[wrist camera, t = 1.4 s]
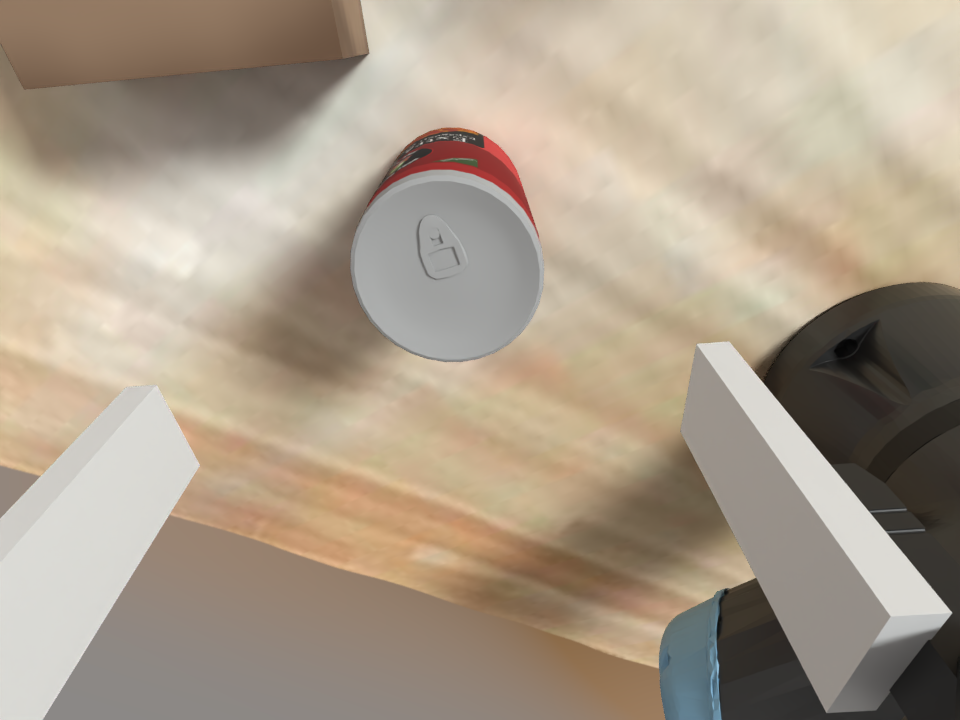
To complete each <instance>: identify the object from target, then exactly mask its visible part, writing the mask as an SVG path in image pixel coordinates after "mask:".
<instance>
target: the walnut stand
mask: <svg viewBox="0 0 960 720" xmlns="http://www.w3.org/2000/svg"><path fill="white" fill-rule="evenodd" d="M0 43H1V45H2V47H3V49H4V51H5V53H6V55H7V57H8V59H9V61H10V63H11V65H12V67H13V69H14V71H15V73H16V75H17V77H18V78H19V80H20V82H21V84H22V86H23V88H24V89H35V88H45V87H56V86H66V85H77V84H87V83H97V82H108V81H118V80H129V79H139V78H149V77H160V76H170V75H181V74H191V73H202V72H212V71H222V70H233V69H243V68H254V67H264V66H275V65H285V64H295V63H306V62H316V61H327V60H337V59H345V58H350V57H354V56H359V55H364V54H368V53H369V49H368V43H367V37H366V32H365V26H364V20H363V14H362V8H361V2H360V0H0Z"/></svg>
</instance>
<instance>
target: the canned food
mask: <svg viewBox="0 0 960 720" xmlns="http://www.w3.org/2000/svg"><path fill="white" fill-rule="evenodd" d="M350 270H351V276H352V282H353V287H354V290H355V293H356V295H357V298H358V301H359V303H360V306H361V307H362V309H363V310H364V312H365V314H366V315H367V317H368V318H369V320H370V321H371V322H372V324H373V325H374V326H375V327H376V328H377V329H378V330H379V331H380V332H381V334H383V335H384V336H385V337H386V338H388V339H389V340H390V341H391V342H393V343H394V344H395V345H397V346H399V347H401V348H402V349H404V350H406V351H408V352H410V353H412V354H415V355H418V356H420V357H423V358H426V359H431V360H437V361H443V362H463V361H469V360H475V359H479V358H482V357H485V356H487V355H490V354H493V353H495V352H497V351H498V350H500V349H502V348H503V347H505V346H507V345H508V344H510V343H511V342H512V341H513V340H514V339H515V338H516V337H517V336H519V335H520V334H521V333H522V331H523V330H524V329H525V327H526V326H527V325H528V324H529V322H530V321H531V319H532V317H533V315H534V313H535V311H536V309H537V307H538V305H539V302H540V298H541V294H542V290H543V281H544V260H543V254H542V247H541V243H540V240H539V235H538V232H537V229H536V226H535V223H534V220H533V217H532V214H531V211H530V208H529V205H528V202H527V199H526V196H525V193H524V190H523V187H522V184H521V181H520V178H519V176H518V173H517V170H516V168H515V167H514V165H513V163H512V162H511V160H510V158H509V157H508V156H507V155H506V154H505V152H504V151H503V150H502V149H501V148H500V147H499V146H498V145H497V144H495V143H494V142H493V141H491V140H490V139H489V138H487V137H485V136H483V135H481V134H479V133H477V132H474V131H471V130H467V129H462V128H441V129H437V130H433V131H429V132H427V133H425V134H423V135H421V136H419V137H417V138H416V139H415V140H413V141H412V142H411V143H410V144H408V145H407V146H406V147H405V149H404V150H403V151H402V152H401V154H400V155H399V156H398V157H397V159H396V160H395V162H394V164H393V165H392V167H391V168H390V170H389V172H388V173H387V175H386V176H385V178H384V180H383V181H382V183H381V184H380V186H379V187H378V189H377V191H376V192H375V194H374V195H373V197H372V199H371V200H370V202H369V204H368V206H367V208H366V209H365V211H364V213H363V215H362V217H361V219H360V222H359V224H358V226H357V228H356V232H355V236H354V240H353V244H352V249H351V266H350Z"/></svg>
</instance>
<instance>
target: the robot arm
mask: <svg viewBox="0 0 960 720" xmlns="http://www.w3.org/2000/svg"><path fill="white" fill-rule="evenodd" d="M680 432H681V434H682V436H683V438H684V439H685V441H686V443H687V445H688V447H689V449H690V451H691V453H692V455H693V457H694V459H695V461H696V463H697V465H698V466H699V468H700V470H701V472H702V474H703V476H704V478H705V480H706V482H707V484H708V486H709V488H710V490H711V491H712V493H713V495H714V497H715V499H716V501H717V503H718V505H719V507H720V509H721V511H722V513H723V515H724V517H725V518H726V520H727V522H728V524H729V526H730V528H731V530H732V532H733V534H734V536H735V538H736V540H737V542H738V544H739V545H740V547H741V549H742V551H743V553H744V555H745V557H746V559H747V561H748V563H749V565H750V567H751V569H752V571H753V572H754V574H755V576H756V578H755V579H752V580H750V581H748V582H745V583H743V584H741V585H738V586H736V587H734V588H731V589H729V588H726V589H723V590H720V591H717V592H716V594H715V595H714V597H713V598H711V599H709V600H707V601H705V602H703V603H701V604H699V605H697V606H695V607H693V608H691V609H689V610H687V611H685V612H683V613H681V614H679V615H677V616H676V617H675V618H674V619H673V620H672V621H671V622H670V623H669V624H668V626H667V628H666V629H665V632H664V634H663V637H662V641H661V645H660V652H659V671H660V689H661V697H662V702H663V708H664V714H665V718H666V720H960V289H957V288H954V287H951V286H948V285H943V284H938V283H925V282H918V283H905V284H898V285H892V286H888V287H883V288H880V289H876V290H873V291H870V292H867V293H864V294H862V295H859V296H857V297H854V298H852V299H850V300H848V301H846V302H844V303H842V304H840V305H838V306H836V307H834V308H833V309H831V310H829V311H828V312H826V313H825V314H823V315H821V316H820V317H818V318H817V319H816V320H814V321H813V322H812V323H810V324H809V325H808V326H807V327H805V328H804V329H803V330H802V331H801V332H800V333H799V334H798V335H796V336H795V337H794V338H793V339H792V340H791V341H790V343H789V344H788V345H787V346H786V347H785V348H784V349H783V351H782V352H781V353H780V355H779V356H778V357H777V359H776V360H775V362H774V363H773V365H772V367H771V368H770V370H769V372H768V374H767V377H766V379H765V381H764V383H763V382H762V381H761V380H760V379H759V377H758V376H757V375H756V374H755V372H754V371H753V370H752V369H751V368H750V366H749V365H748V364H747V363H746V362H745V360H744V359H743V358H742V357H741V355H740V354H739V353H738V352H737V351H736V349H735V348H734V347H733V346H732V344H731V343H730V342H716V343H703V344H696V349H695V354H694V360H693V365H692V371H691V376H690V382H689V387H688V393H687V398H686V403H685V409H684V414H683V420H682V425H681V431H680ZM199 466H200V464H199V463H198V461H197V459H196V457H195V455H194V453H193V451H192V449H191V448H190V446H189V444H188V442H187V440H186V438H185V436H184V435H183V433H182V431H181V429H180V427H179V425H178V423H177V422H176V420H175V418H174V416H173V414H172V412H171V410H170V409H169V407H168V405H167V403H166V401H165V399H164V397H163V396H162V394H161V392H160V390H159V388H158V386H157V385H146V386H133V387H126V388H125V389H124V390H123V391H122V392H121V393H120V394H119V395H118V396H117V397H116V398H115V399H114V400H113V401H112V402H111V403H110V405H109V406H108V407H107V408H106V409H105V410H104V411H103V412H102V413H101V414H100V415H99V416H98V417H97V418H96V419H95V420H94V421H93V422H92V423H91V424H90V425H89V426H88V428H87V429H86V430H85V431H84V432H83V433H82V434H81V435H80V436H79V437H78V438H77V439H76V440H75V441H74V442H73V443H72V444H71V445H70V446H69V447H68V448H67V449H66V450H65V452H64V453H63V454H62V455H61V456H60V457H59V458H58V459H57V460H56V461H55V462H54V463H53V464H52V465H51V466H50V467H49V468H48V469H47V470H46V471H45V472H44V473H43V474H42V476H41V477H40V478H39V479H38V480H37V481H36V482H35V483H34V484H33V485H32V486H31V487H30V488H29V489H28V490H27V491H26V492H25V493H24V494H23V495H22V496H21V498H20V499H19V500H18V501H17V502H16V503H15V504H14V505H13V506H12V507H11V508H10V509H9V510H8V511H7V512H6V513H5V514H4V515H3V516H2V517H1V518H0V720H43V718H44V716H45V715H46V713H47V711H48V710H49V708H50V707H51V705H52V703H53V702H54V700H55V699H56V697H57V695H58V694H59V692H60V690H61V689H62V687H63V686H64V684H65V682H66V681H67V679H68V677H69V676H70V674H71V673H72V671H73V670H74V668H75V666H76V665H77V663H78V661H79V660H80V658H81V657H82V655H83V653H84V652H85V650H86V649H87V647H88V645H89V644H90V642H91V640H92V639H93V637H94V635H95V634H96V632H97V631H98V629H99V627H100V626H101V624H102V623H103V621H104V619H105V618H106V616H107V615H108V613H109V611H110V610H111V608H112V606H113V605H114V603H115V602H116V600H117V598H118V597H119V595H120V593H121V592H122V590H123V589H124V587H125V585H126V584H127V582H128V581H129V579H130V577H131V576H132V574H133V572H134V571H135V569H136V568H137V566H138V564H139V563H140V561H141V560H142V558H143V556H144V555H145V553H146V552H147V550H148V548H149V547H150V545H151V543H152V542H153V540H154V539H155V537H156V535H157V534H158V532H159V531H160V529H161V527H162V526H163V524H164V522H165V521H166V519H167V517H168V516H169V514H170V513H171V511H172V510H173V508H174V506H175V505H176V503H177V501H178V500H179V498H180V497H181V495H182V493H183V492H184V490H185V489H186V487H187V485H188V484H189V482H190V480H191V479H192V477H193V476H194V474H195V472H196V471H197V469H198V468H199Z"/></svg>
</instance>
